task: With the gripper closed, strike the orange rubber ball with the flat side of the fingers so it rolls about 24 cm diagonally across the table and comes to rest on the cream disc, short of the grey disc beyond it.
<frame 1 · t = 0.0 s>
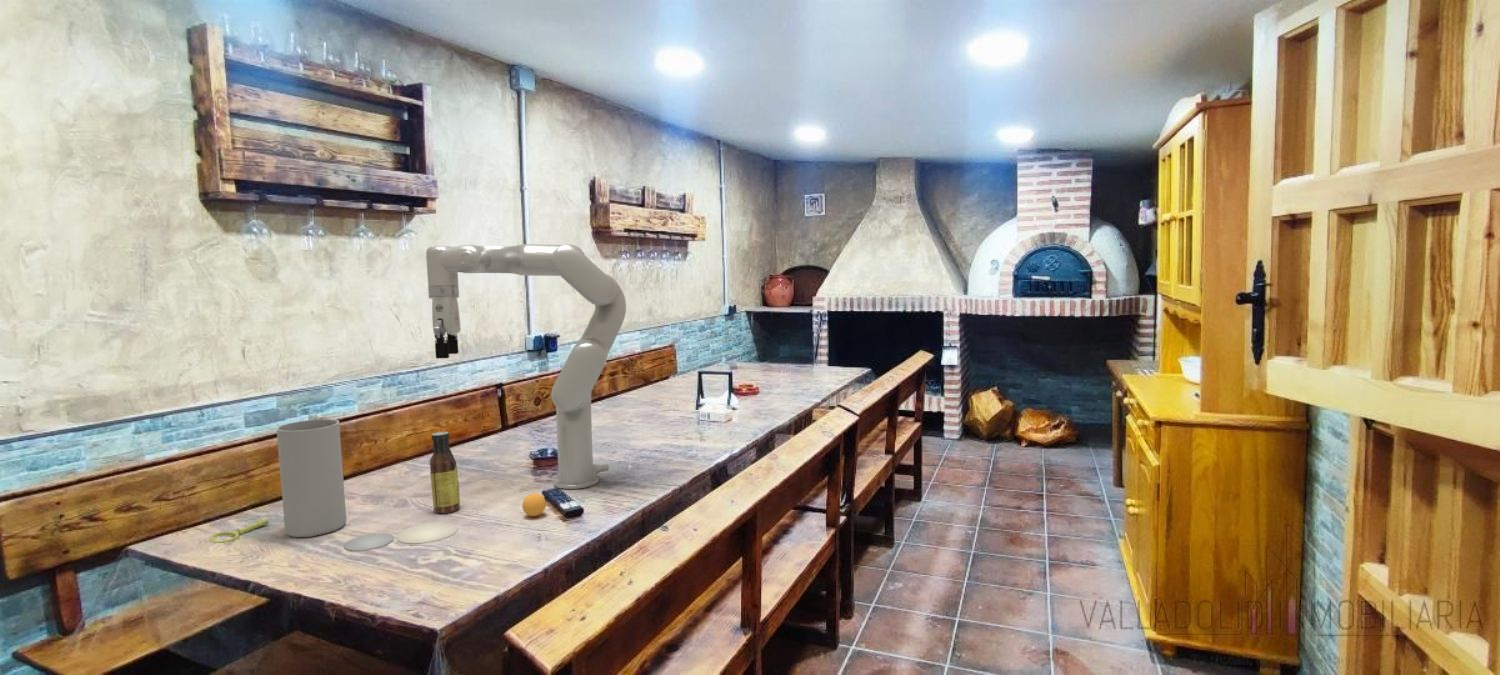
hand: (447, 355, 197), 37 cm above the table, tool pointing down, fingers open, 9 cm apart
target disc: (427, 532, 168), on the table
ball: (534, 505, 178), on the table
cylinder vase: (316, 529, 172), on the table
sauce bottle: (446, 511, 184), on the table
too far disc: (369, 542, 163), on the table
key: (239, 537, 169), on the table
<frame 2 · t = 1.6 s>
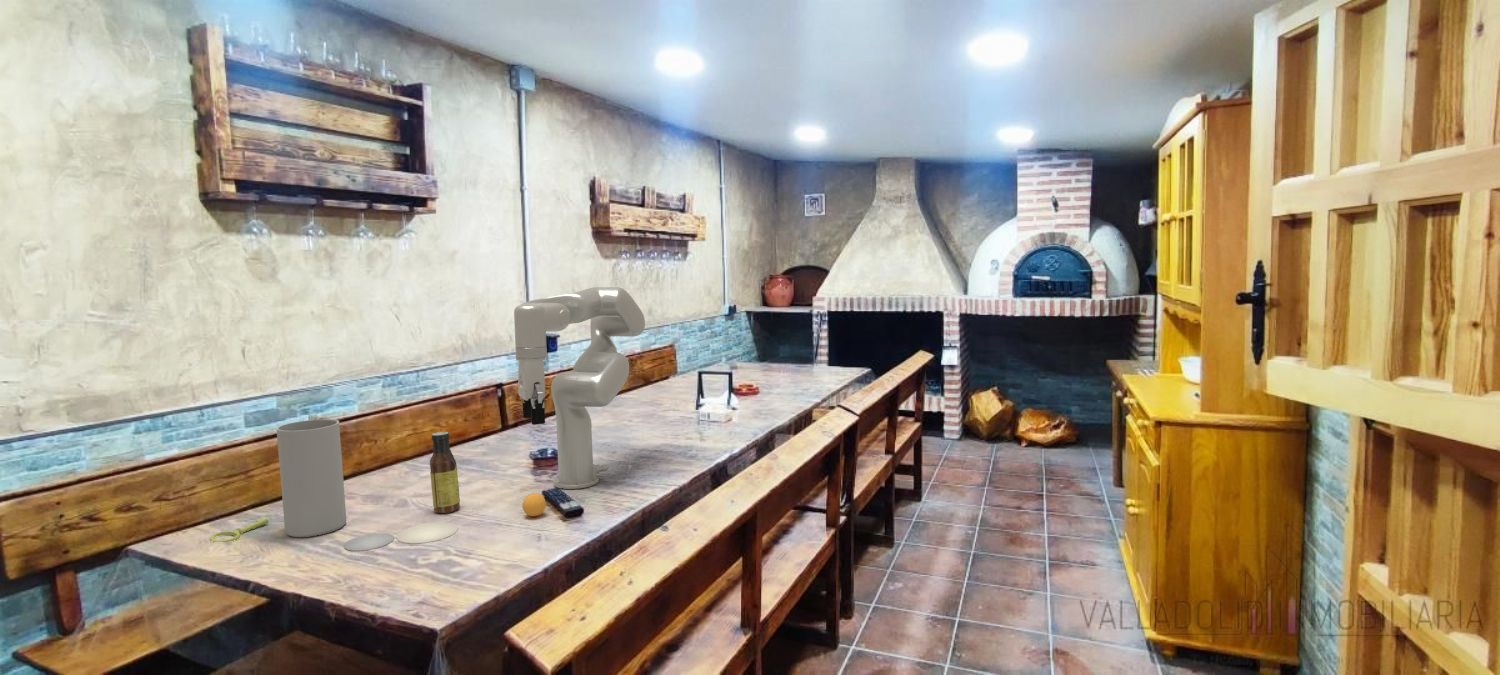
hand: (533, 420, 185), 22 cm above the table, tool pointing down, fingers open, 9 cm apart
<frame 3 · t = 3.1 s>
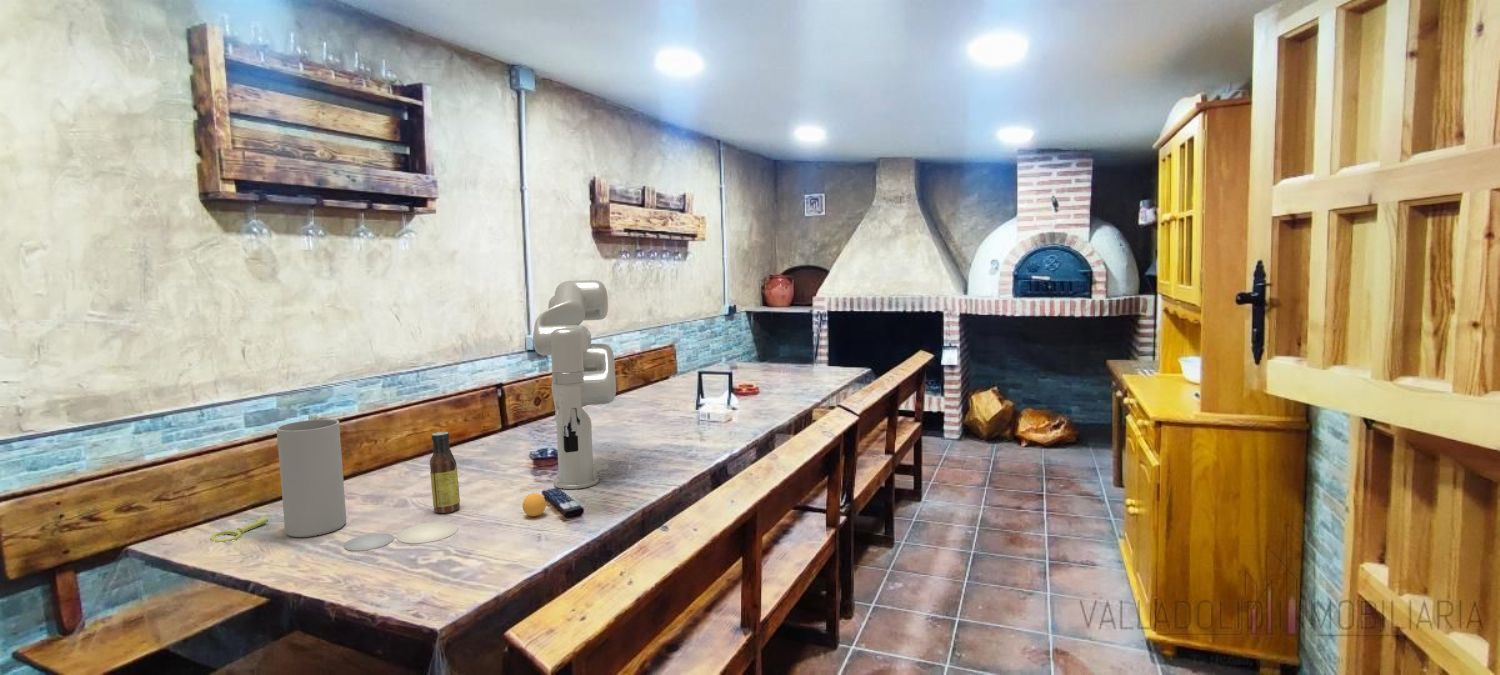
hand: (571, 451, 181), 15 cm above the table, tool pointing down, fingers closed
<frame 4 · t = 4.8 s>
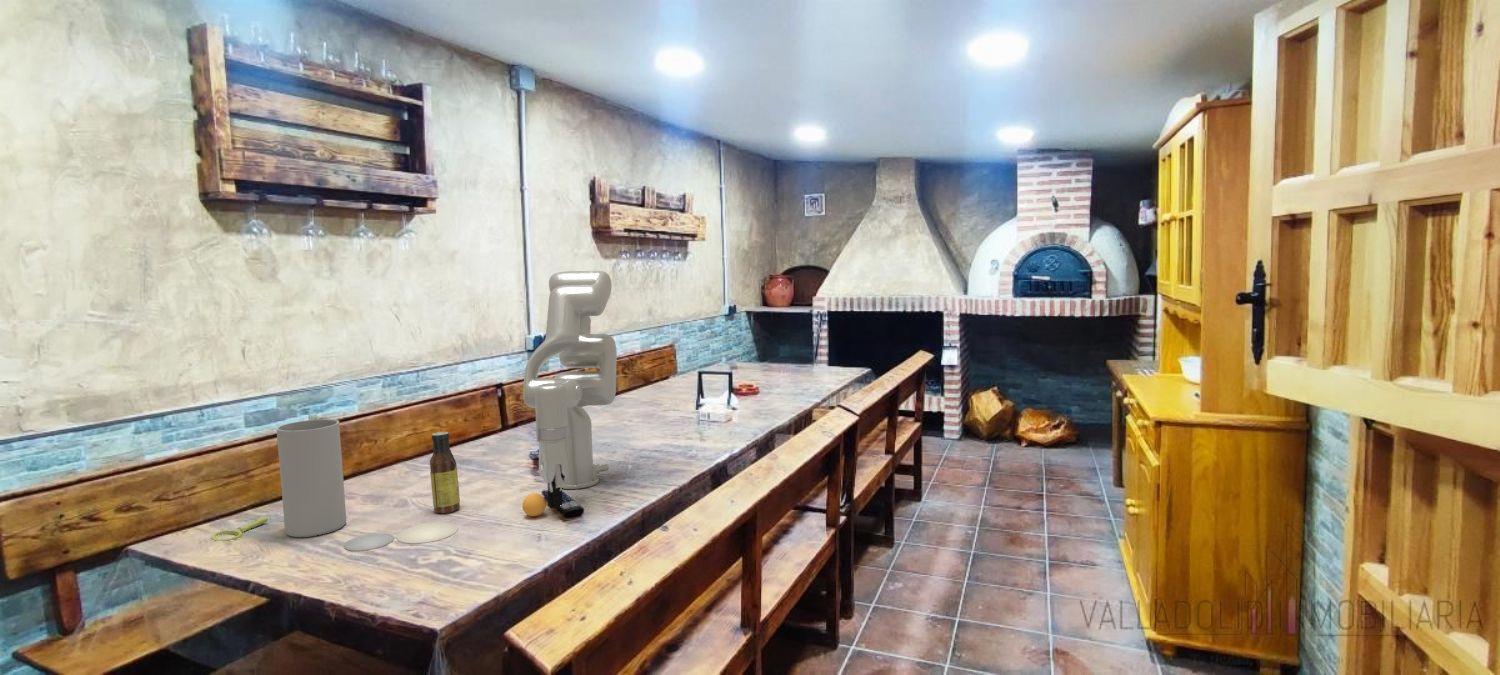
hand: (555, 506, 180), 2 cm above the table, tool pointing down, fingers closed
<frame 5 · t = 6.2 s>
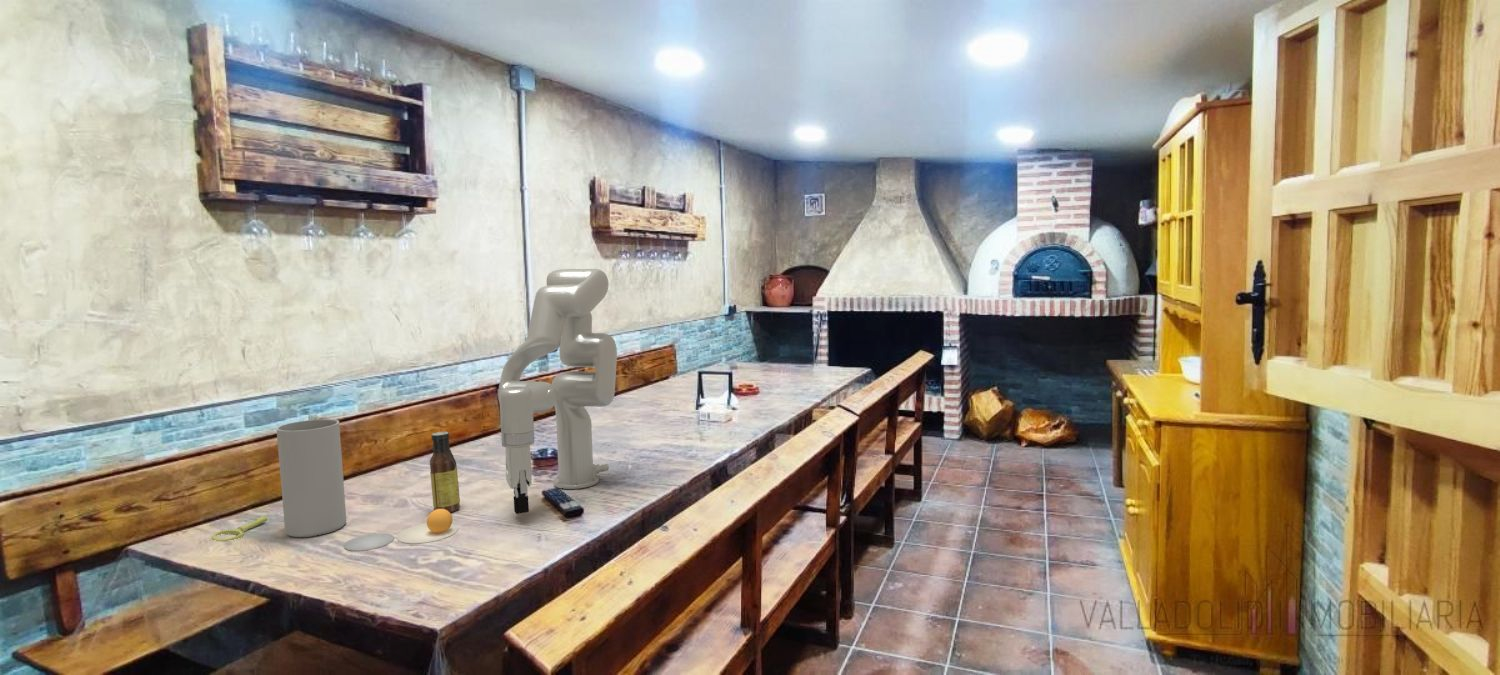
hand: (521, 511, 177), 2 cm above the table, tool pointing down, fingers closed
ball: (439, 520, 168), on the table
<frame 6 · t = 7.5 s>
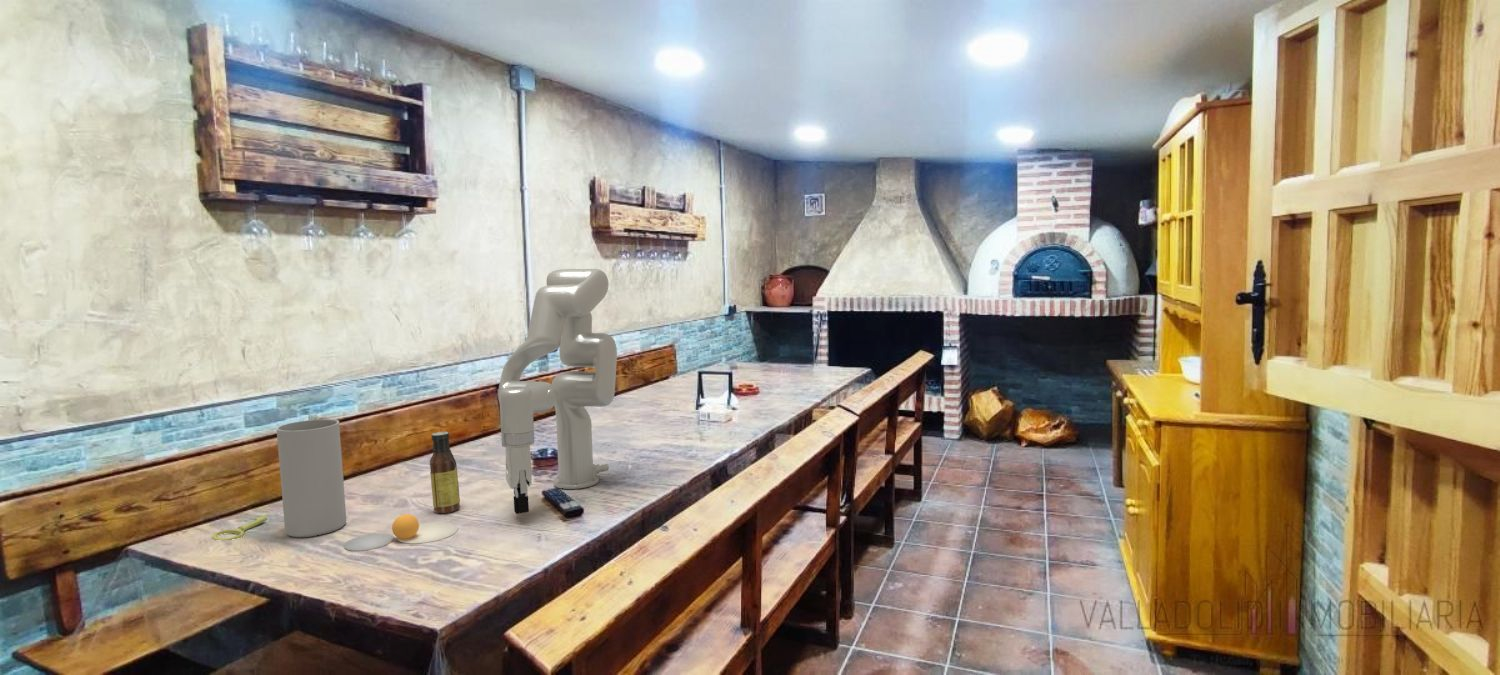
hand: (521, 511, 177), 2 cm above the table, tool pointing down, fingers closed
ball: (405, 526, 165), on the table
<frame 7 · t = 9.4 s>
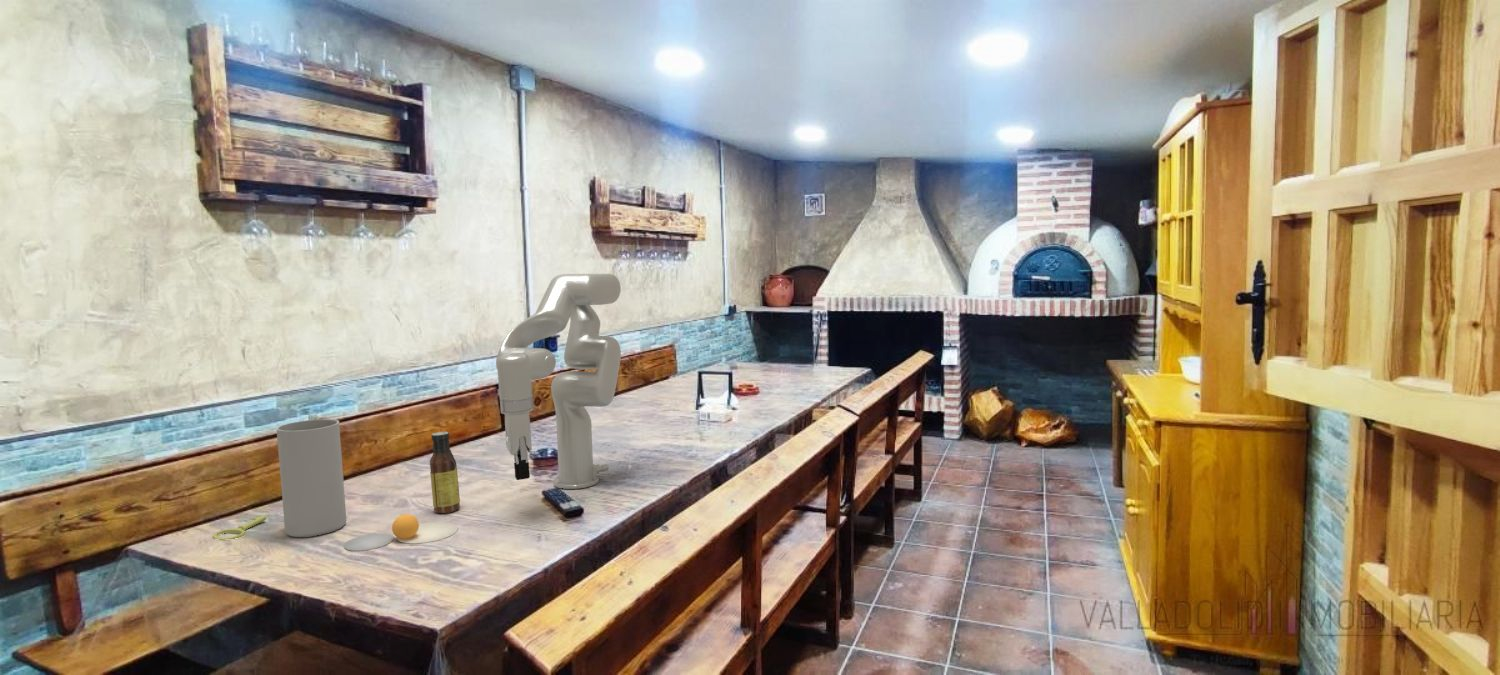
hand: (522, 478, 177), 10 cm above the table, tool pointing down, fingers closed
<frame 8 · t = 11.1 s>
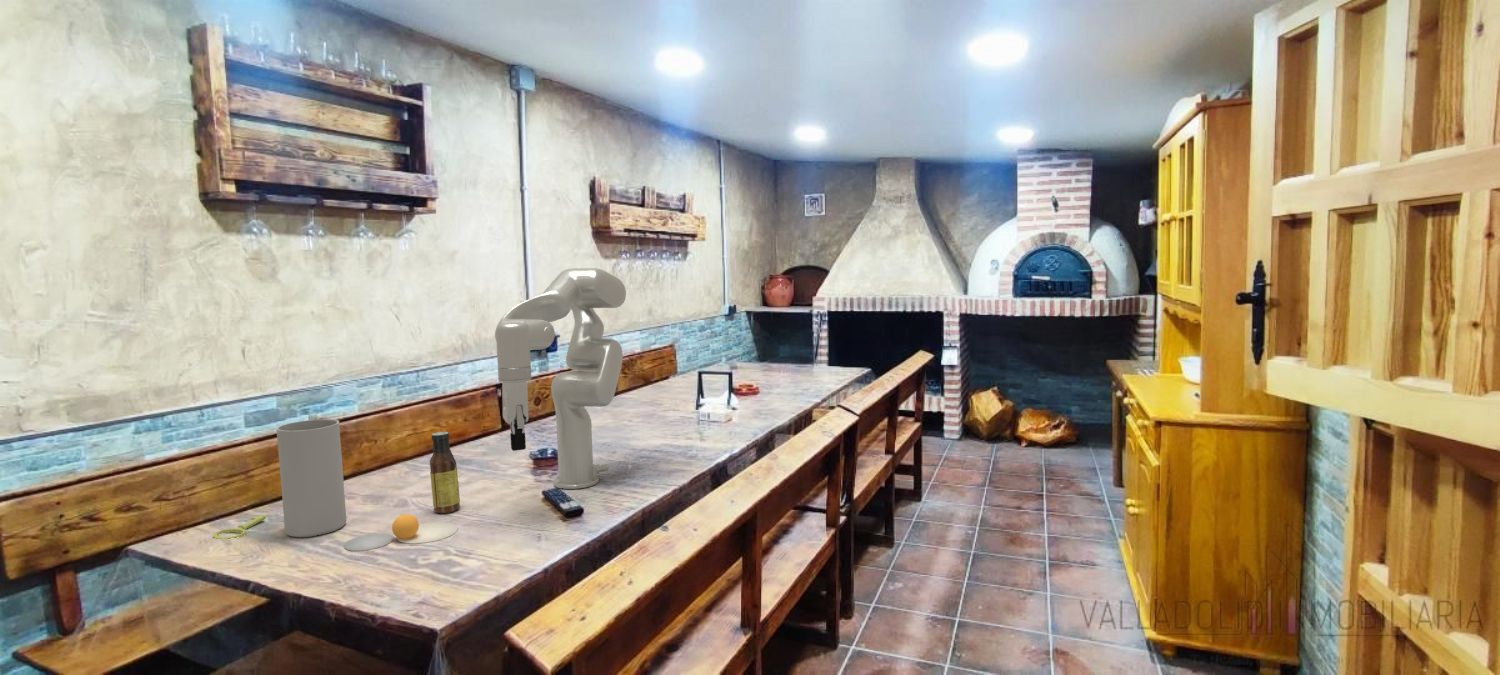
hand: (518, 449, 175), 17 cm above the table, tool pointing down, fingers closed
at the end: ball 4.7 cm from the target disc (horizontally); ball at rest at the end (0.0 cm/s); ball moved 28.6 cm from its start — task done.
